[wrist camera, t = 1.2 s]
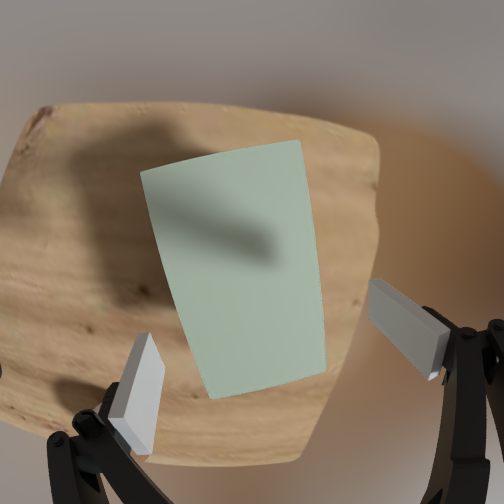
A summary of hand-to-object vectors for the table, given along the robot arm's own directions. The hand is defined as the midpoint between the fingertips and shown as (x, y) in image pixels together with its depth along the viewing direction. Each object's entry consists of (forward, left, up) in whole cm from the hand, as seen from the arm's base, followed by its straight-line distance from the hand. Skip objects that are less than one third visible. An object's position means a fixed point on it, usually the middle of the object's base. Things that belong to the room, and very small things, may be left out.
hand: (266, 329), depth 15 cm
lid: (0, 0, -8) cm, 8 cm away
